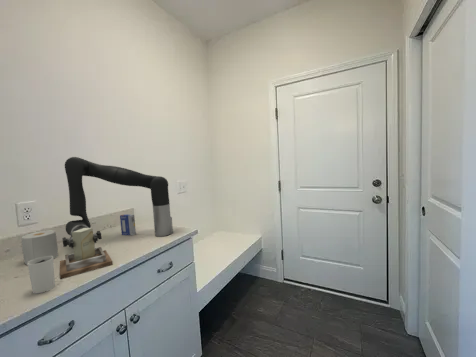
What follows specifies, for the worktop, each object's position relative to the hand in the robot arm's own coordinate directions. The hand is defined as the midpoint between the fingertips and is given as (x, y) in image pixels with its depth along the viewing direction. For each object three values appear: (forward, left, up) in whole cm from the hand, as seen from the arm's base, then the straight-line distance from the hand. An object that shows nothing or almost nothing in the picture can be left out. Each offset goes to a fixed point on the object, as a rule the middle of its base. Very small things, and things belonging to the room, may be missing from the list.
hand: (84, 242), depth 94 cm
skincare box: (0, -2, -7) cm, 8 cm away
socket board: (0, -2, -10) cm, 10 cm away
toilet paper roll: (+15, -25, -10) cm, 31 cm away
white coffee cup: (+13, +11, -10) cm, 20 cm away
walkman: (-24, -35, -10) cm, 44 cm away
